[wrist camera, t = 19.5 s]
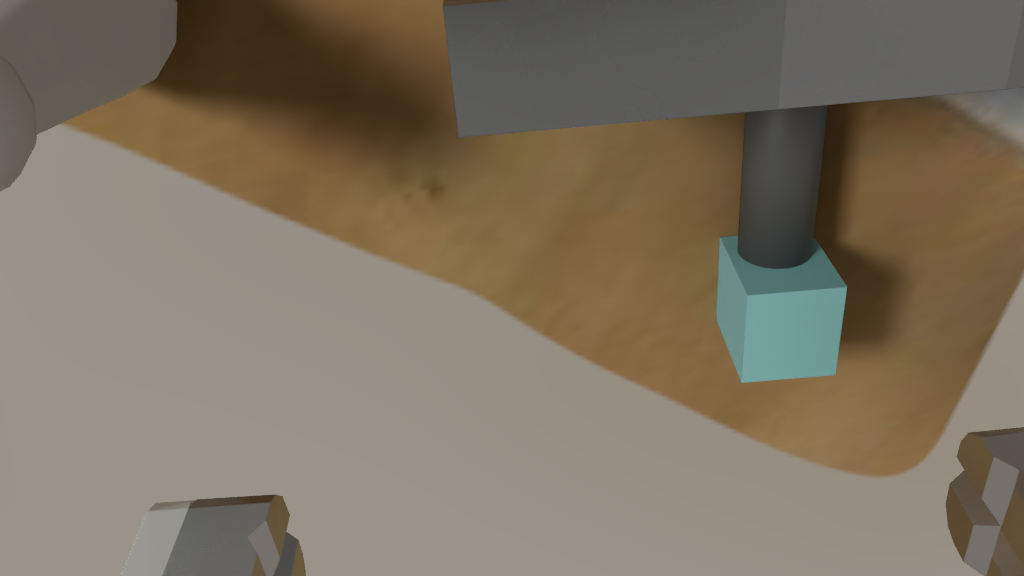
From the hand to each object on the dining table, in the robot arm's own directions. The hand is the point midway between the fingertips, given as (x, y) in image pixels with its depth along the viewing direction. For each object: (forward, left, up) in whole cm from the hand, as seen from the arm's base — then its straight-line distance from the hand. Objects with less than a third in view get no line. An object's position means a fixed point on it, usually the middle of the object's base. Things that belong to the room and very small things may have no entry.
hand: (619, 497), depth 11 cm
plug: (+8, +9, -24) cm, 26 cm away
